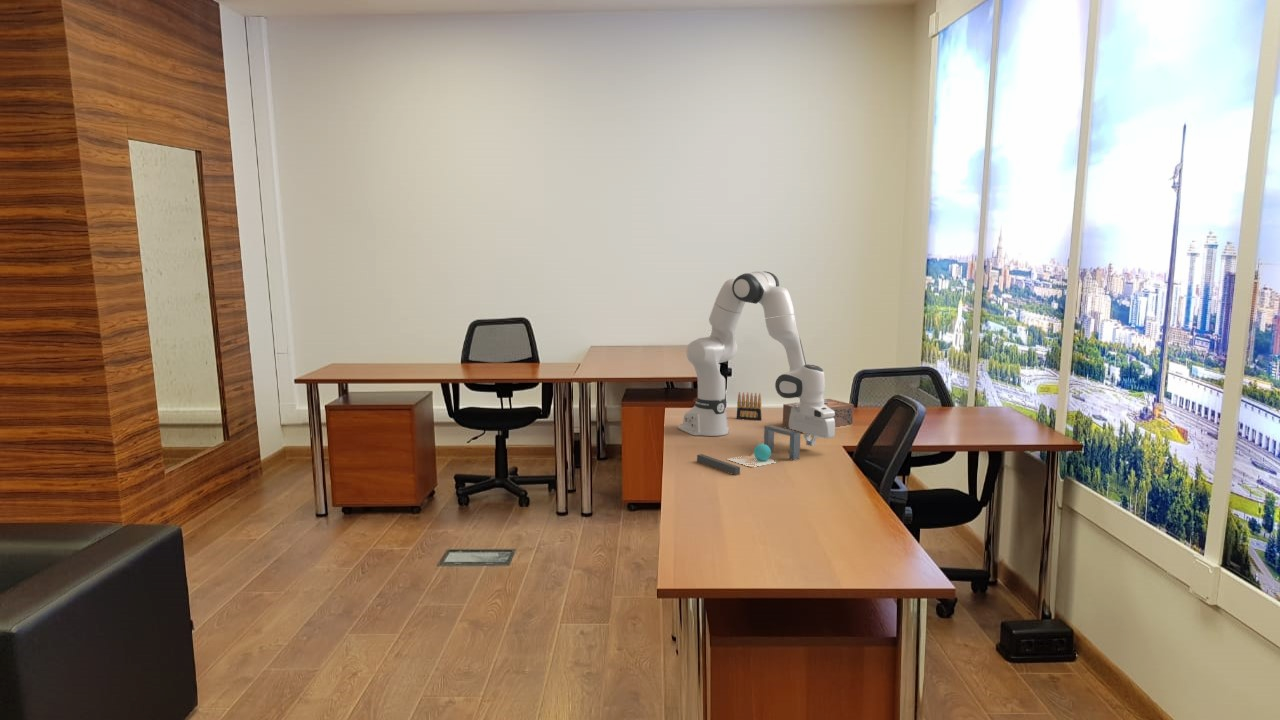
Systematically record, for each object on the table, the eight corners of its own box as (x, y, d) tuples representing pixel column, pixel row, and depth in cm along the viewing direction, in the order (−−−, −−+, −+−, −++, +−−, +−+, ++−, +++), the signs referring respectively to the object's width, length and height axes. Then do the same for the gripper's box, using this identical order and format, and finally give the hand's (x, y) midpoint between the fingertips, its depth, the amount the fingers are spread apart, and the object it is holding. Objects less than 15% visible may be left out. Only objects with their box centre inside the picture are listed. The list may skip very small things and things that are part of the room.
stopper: (697, 461, 286) (697, 454, 285) (701, 461, 287) (701, 454, 286) (735, 475, 269) (735, 467, 269) (739, 474, 271) (739, 466, 270)
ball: (761, 441, 291) (760, 458, 292) (750, 443, 287) (749, 460, 288) (775, 444, 287) (773, 461, 287) (764, 446, 283) (763, 463, 283)
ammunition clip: (761, 419, 355) (762, 392, 353) (761, 420, 353) (761, 393, 352) (737, 418, 358) (737, 391, 356) (736, 419, 356) (737, 392, 354)
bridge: (793, 460, 288) (794, 433, 287) (763, 451, 300) (764, 425, 299) (799, 459, 290) (800, 432, 289) (769, 450, 302) (770, 424, 301)
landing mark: (726, 459, 289) (726, 459, 289) (753, 454, 296) (753, 453, 296) (751, 468, 278) (751, 467, 278) (779, 462, 286) (779, 461, 286)
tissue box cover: (828, 421, 354) (829, 398, 353) (852, 427, 342) (853, 404, 341) (782, 427, 341) (783, 404, 340) (806, 434, 329) (807, 410, 328)
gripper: (785, 405, 308) (784, 440, 310) (826, 414, 292) (825, 452, 294) (797, 403, 312) (796, 438, 314) (838, 412, 295) (836, 450, 297)
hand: (810, 445), depth 304 cm, fingers closed
